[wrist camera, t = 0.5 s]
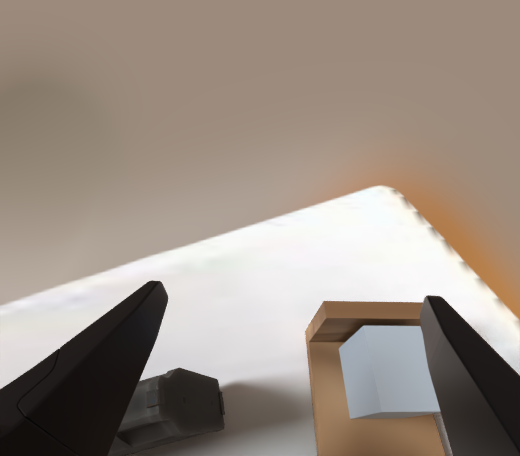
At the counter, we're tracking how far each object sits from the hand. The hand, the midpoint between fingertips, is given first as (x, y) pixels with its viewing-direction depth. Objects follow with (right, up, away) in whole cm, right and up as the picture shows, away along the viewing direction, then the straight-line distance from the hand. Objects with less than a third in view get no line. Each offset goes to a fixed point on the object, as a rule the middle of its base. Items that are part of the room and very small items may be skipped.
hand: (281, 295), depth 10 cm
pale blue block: (+8, -10, +13) cm, 18 cm away
